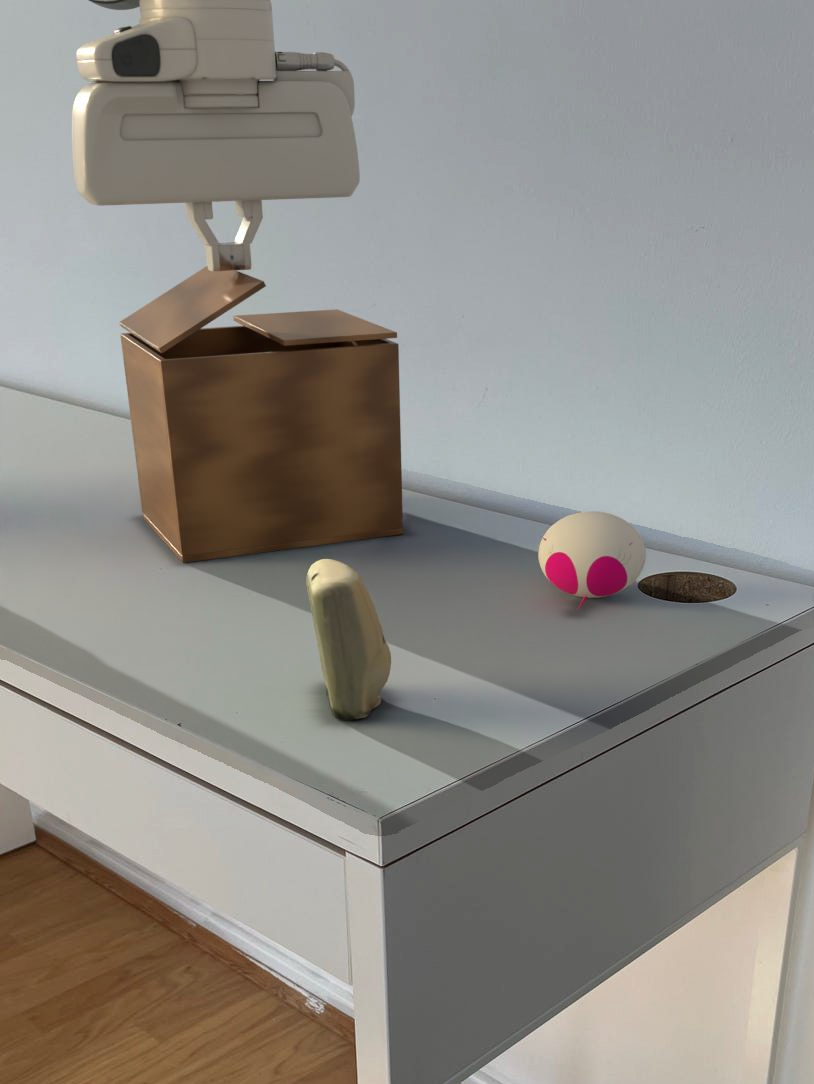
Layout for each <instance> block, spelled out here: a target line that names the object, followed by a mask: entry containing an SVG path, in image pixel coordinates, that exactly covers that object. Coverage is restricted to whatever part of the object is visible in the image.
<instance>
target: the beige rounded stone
mask: <svg viewBox="0 0 814 1084" xmlns="http://www.w3.org/2000/svg"><path fill="white" fill-rule="evenodd" d="M305 579H306V588H307V590H306V591H307V596H308V600H309V605H310V608H311V615H312V622H313V627H314V632H315V639H316V643H317V648H318V656H319V662H320V667H321V672H322V676H323V680H324V685H325V695H326V697H327V699H328V704H329V708H330V711H331V715H332V717H334V718H335V719H338V720H342V721H343V720H344V721H346V720H359V719H364V718H367V717H368V716H370V714H371V711H372V709H375V708H378V707H379V706H380V705H381V703H382V697H381V696H379V694H380V693H381V691H382V690H383V689H384V687H385V686H386V684H387V682H388V680H389V677H390V674H391V668H392V667H391V666H392V655H391V653H392V652H391V650H390V647H389V644H388V643H387V641H386V639H385V636H384V631H383V628H382V624H381V623H380V622H381V621H380V620H379V616H378V613H377V610H376V608H375V605H374V603H373V600H372V598H371V595H370V594H369V592H368V590H367V588H366V585H365V584H364V581H363V580H362V577H361V576H360V574H359V573H358V571H356V570H355V569H354V568H352V566H351V567H350V566H349V565H347V564H345V563H343V562H342V561H338V560H336V559H330V558H323V559H322V558H321V559H319V560H316V561H314V563H312V564H311V565H310V567H309V568H308V572H307V573H306V578H305Z"/></svg>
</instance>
